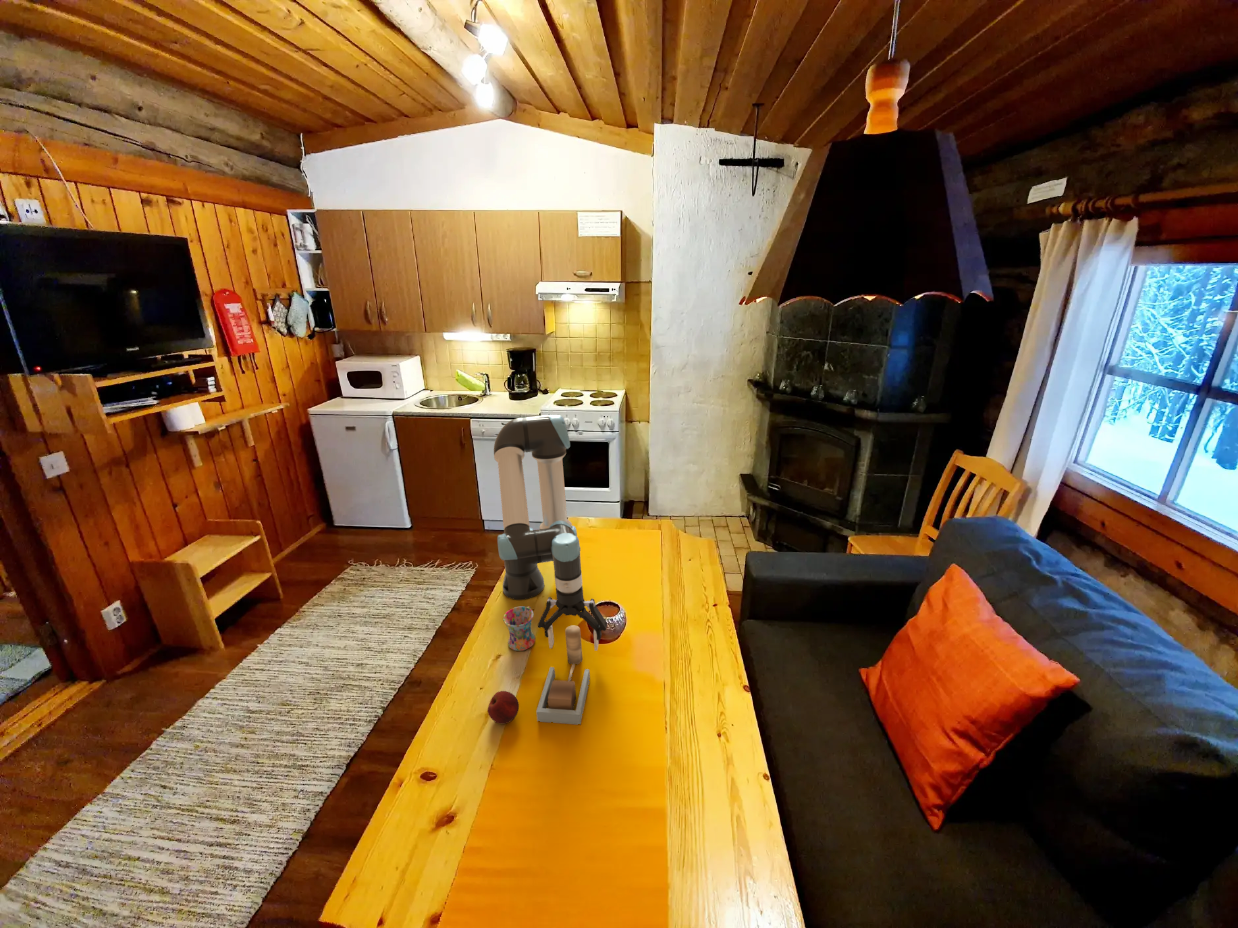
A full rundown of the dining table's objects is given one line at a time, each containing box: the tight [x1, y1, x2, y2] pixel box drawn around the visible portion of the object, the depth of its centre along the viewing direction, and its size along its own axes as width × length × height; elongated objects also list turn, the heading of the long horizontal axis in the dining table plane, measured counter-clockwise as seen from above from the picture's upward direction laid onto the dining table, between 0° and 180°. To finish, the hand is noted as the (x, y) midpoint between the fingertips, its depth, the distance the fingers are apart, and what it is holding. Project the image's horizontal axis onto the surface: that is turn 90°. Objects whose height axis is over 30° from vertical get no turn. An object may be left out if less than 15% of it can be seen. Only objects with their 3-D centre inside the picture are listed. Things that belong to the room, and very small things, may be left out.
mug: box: [502, 605, 536, 652], centre depth 153 cm, size 12×9×11 cm
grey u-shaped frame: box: [535, 666, 591, 725], centre depth 132 cm, size 15×11×4 cm
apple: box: [487, 690, 520, 725], centre depth 127 cm, size 7×8×8 cm
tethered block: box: [547, 624, 583, 710], centre depth 136 cm, size 22×6×11 cm, turn 174°
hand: (574, 646), depth 144 cm, fingers open, 13 cm apart
